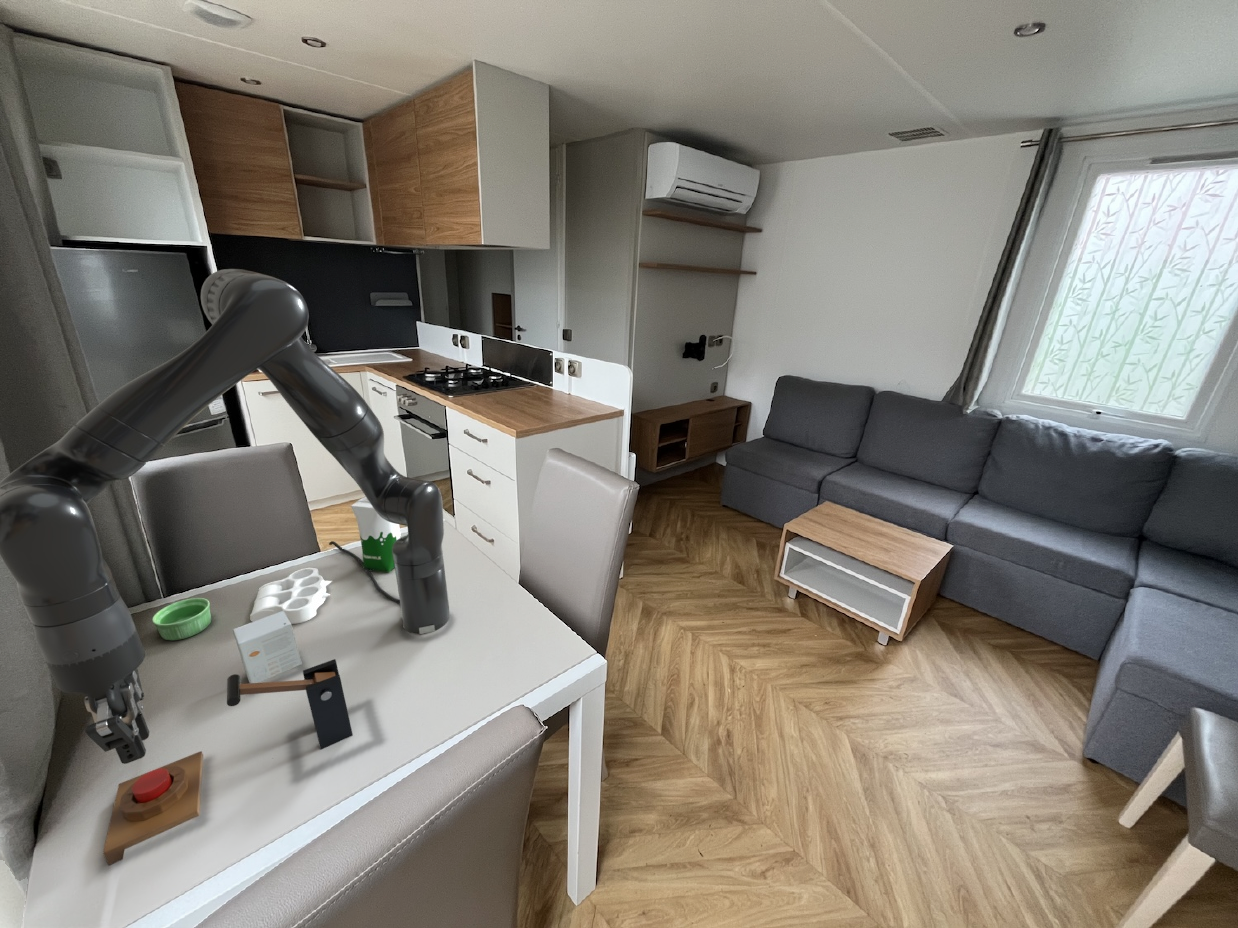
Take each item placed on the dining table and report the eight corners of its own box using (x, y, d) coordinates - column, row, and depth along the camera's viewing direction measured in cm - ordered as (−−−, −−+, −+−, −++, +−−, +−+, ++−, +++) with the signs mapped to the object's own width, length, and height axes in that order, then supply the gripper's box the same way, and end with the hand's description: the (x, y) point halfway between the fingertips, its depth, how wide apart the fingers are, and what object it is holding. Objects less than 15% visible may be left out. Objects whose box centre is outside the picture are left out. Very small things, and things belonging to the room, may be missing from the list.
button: (138, 786, 67) (134, 777, 66) (173, 772, 69) (169, 763, 68) (134, 808, 64) (129, 799, 63) (170, 793, 66) (166, 783, 65)
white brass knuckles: (263, 588, 116) (334, 574, 122) (249, 635, 101) (330, 616, 107) (260, 576, 115) (331, 562, 121) (245, 621, 100) (328, 603, 106)
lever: (224, 710, 65) (229, 694, 65) (225, 686, 69) (229, 671, 69) (333, 700, 74) (338, 685, 74) (329, 679, 78) (333, 666, 77)
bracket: (298, 778, 72) (279, 710, 68) (293, 735, 79) (275, 671, 74) (379, 740, 78) (367, 676, 74) (368, 703, 85) (356, 643, 81)
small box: (296, 654, 96) (284, 609, 92) (304, 669, 92) (292, 623, 88) (246, 675, 90) (231, 628, 87) (252, 692, 87) (237, 644, 83)
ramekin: (158, 649, 96) (151, 630, 95) (158, 626, 103) (152, 608, 101) (216, 630, 102) (210, 612, 100) (213, 609, 108) (207, 592, 107)
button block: (124, 795, 69) (114, 774, 68) (205, 761, 74) (198, 741, 73) (108, 865, 61) (97, 844, 59) (202, 822, 66) (193, 801, 64)
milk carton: (410, 556, 131) (400, 487, 124) (389, 575, 122) (377, 501, 115) (379, 553, 132) (368, 484, 125) (357, 571, 124) (344, 498, 117)
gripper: (124, 661, 55) (169, 774, 61) (142, 599, 65) (179, 700, 71) (24, 691, 50) (83, 809, 56) (61, 620, 61) (107, 725, 67)
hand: (136, 748), depth 64 cm, fingers closed
